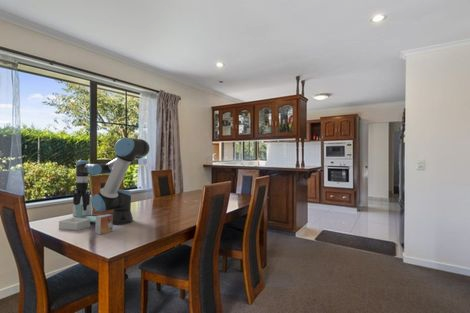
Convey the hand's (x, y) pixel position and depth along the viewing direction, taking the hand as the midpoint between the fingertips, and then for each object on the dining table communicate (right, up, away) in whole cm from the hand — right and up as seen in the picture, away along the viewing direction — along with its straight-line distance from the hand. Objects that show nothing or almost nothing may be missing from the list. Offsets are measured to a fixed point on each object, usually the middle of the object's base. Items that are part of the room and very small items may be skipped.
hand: (80, 214), depth 174 cm
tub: (+6, -5, -16) cm, 17 cm away
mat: (+9, -5, -2) cm, 10 cm away
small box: (+29, -6, -23) cm, 37 cm away
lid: (+7, -3, -2) cm, 8 cm away
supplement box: (-10, -5, +16) cm, 20 cm away
